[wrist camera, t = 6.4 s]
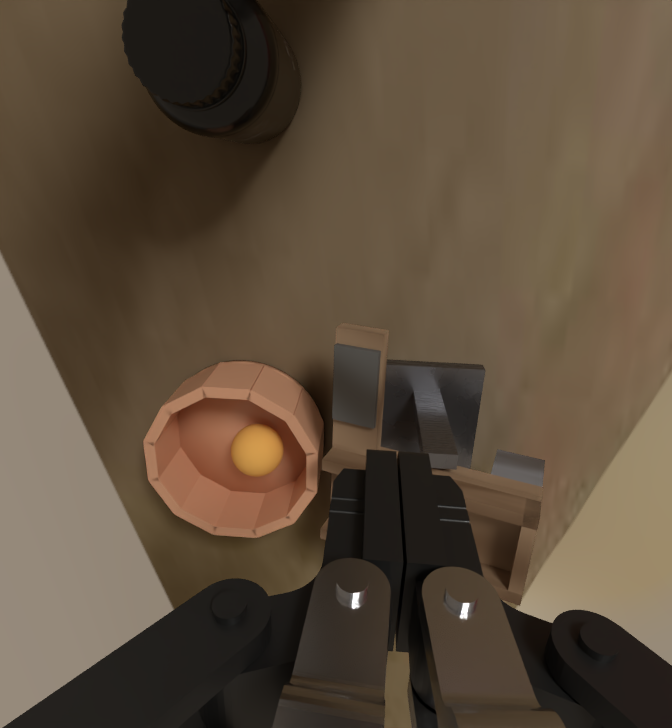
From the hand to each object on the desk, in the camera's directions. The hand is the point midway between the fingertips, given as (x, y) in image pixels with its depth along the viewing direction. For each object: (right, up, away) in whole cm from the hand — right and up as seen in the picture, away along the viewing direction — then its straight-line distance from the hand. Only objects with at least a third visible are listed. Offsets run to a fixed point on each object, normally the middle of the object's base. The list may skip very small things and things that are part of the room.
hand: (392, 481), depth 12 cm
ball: (-7, -4, +26) cm, 27 cm away
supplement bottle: (-7, +20, +19) cm, 29 cm away
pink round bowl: (-9, -3, +29) cm, 30 cm away
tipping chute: (+6, -1, +22) cm, 23 cm away
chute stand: (+5, -3, +28) cm, 28 cm away
